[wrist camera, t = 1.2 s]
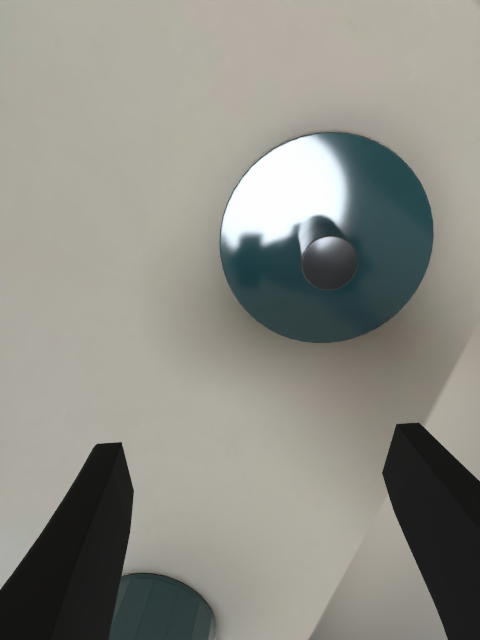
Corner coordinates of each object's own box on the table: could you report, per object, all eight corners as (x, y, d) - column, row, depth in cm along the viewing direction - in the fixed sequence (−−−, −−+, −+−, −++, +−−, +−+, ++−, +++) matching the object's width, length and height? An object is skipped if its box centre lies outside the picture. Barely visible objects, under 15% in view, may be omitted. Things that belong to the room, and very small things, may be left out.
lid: (464, 169, 20) (518, 169, 15) (378, 358, 24) (399, 405, 19) (254, 106, 20) (242, 87, 15) (202, 304, 24) (180, 337, 19)
